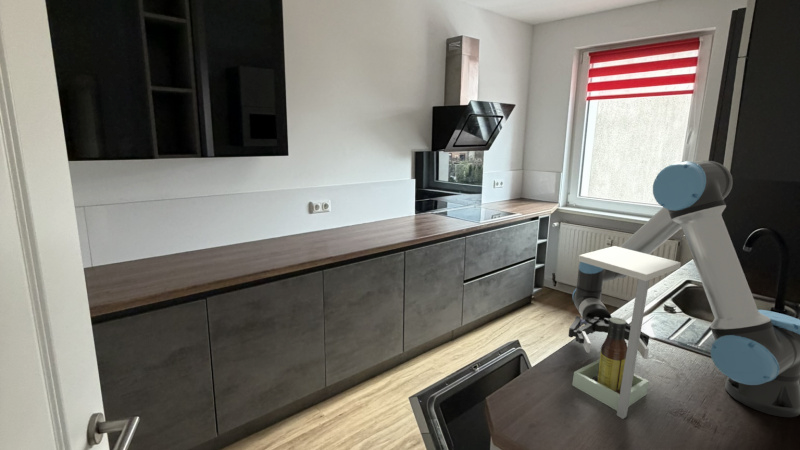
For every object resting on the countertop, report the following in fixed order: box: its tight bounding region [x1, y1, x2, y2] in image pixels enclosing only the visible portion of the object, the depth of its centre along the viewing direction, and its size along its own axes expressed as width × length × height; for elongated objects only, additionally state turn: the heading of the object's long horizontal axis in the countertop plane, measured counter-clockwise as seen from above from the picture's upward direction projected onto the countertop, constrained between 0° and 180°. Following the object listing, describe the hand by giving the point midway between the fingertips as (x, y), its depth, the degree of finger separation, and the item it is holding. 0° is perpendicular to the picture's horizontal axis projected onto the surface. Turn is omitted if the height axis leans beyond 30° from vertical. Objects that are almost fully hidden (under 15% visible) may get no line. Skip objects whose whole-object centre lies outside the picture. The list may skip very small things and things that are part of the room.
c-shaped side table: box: [577, 245, 682, 420], centre depth 106 cm, size 16×16×36 cm
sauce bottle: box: [597, 316, 628, 394], centre depth 108 cm, size 6×6×20 cm
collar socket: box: [571, 358, 650, 412], centre depth 110 cm, size 13×13×4 cm
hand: (617, 351), depth 105 cm, fingers open, 13 cm apart
